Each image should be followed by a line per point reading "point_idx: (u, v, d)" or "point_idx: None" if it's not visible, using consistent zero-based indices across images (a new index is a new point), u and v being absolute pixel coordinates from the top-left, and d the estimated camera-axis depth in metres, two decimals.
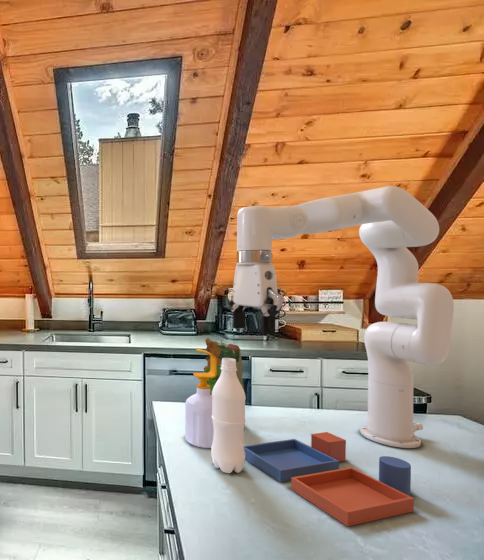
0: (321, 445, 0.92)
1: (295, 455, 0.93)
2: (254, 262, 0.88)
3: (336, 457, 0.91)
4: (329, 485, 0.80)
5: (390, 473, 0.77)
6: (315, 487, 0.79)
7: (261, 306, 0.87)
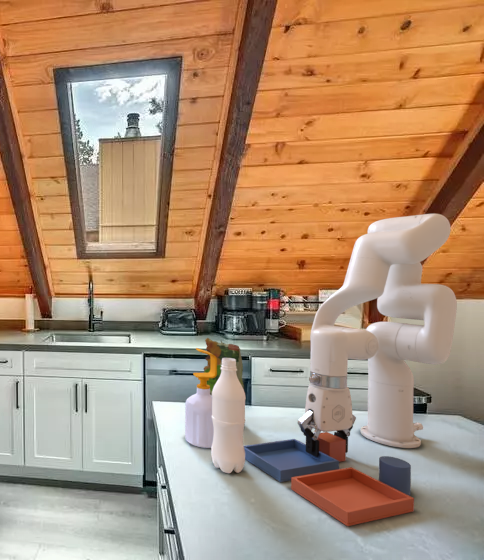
0: (321, 445, 0.92)
1: (295, 455, 0.93)
2: (310, 382, 0.94)
3: (336, 457, 0.91)
4: (329, 485, 0.80)
5: (390, 473, 0.77)
6: (315, 487, 0.79)
7: None
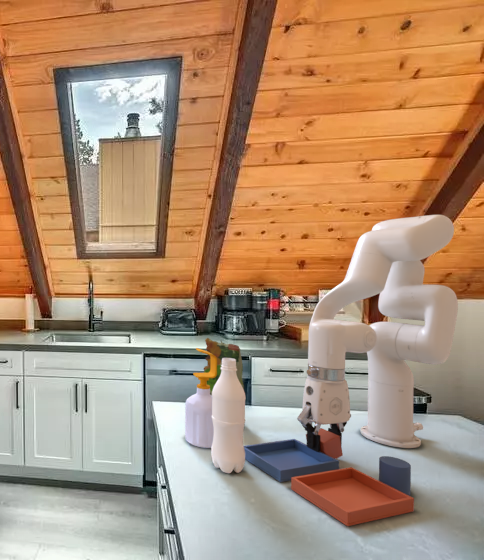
0: None
1: (295, 455, 0.93)
2: None
3: (333, 455, 0.91)
4: (329, 485, 0.80)
5: (390, 473, 0.77)
6: (315, 487, 0.79)
7: None
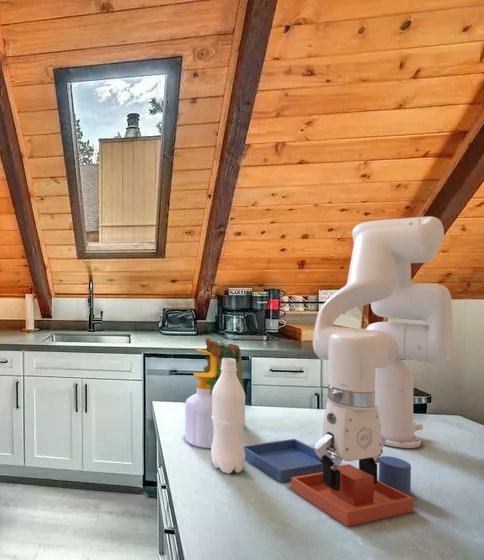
0: (343, 482, 0.75)
1: (295, 455, 0.93)
2: (328, 398, 0.77)
3: (362, 498, 0.73)
4: None
5: (390, 473, 0.77)
6: (315, 487, 0.79)
7: None
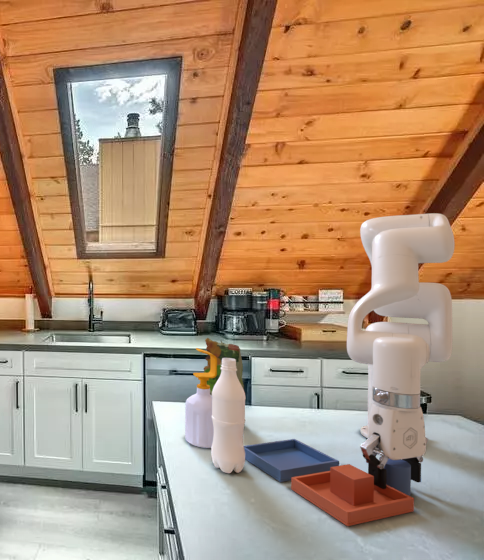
0: (343, 482, 0.75)
1: (295, 455, 0.93)
2: (373, 400, 0.80)
3: (362, 498, 0.73)
4: (329, 485, 0.80)
5: (390, 473, 0.77)
6: (315, 487, 0.79)
7: None
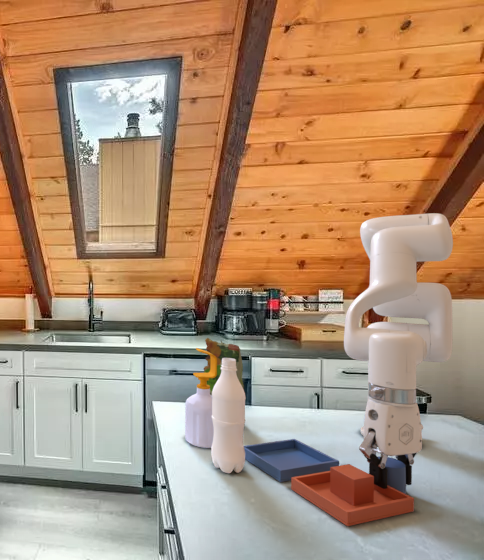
0: (343, 482, 0.75)
1: (295, 455, 0.93)
2: (368, 396, 0.80)
3: (362, 498, 0.73)
4: (329, 485, 0.80)
5: None
6: (315, 487, 0.79)
7: None
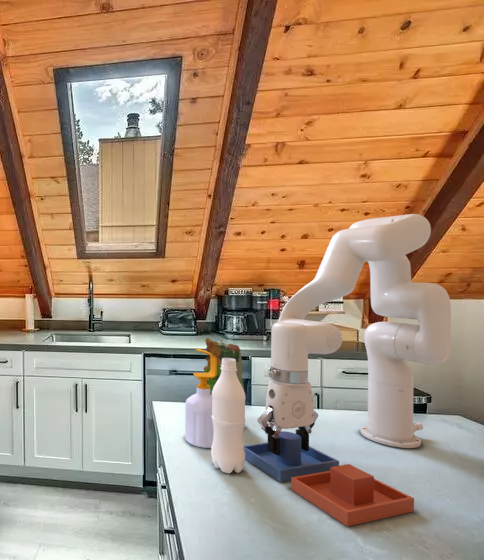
0: (343, 482, 0.75)
1: None
2: (271, 378, 0.91)
3: (362, 498, 0.73)
4: (329, 485, 0.80)
5: (284, 445, 0.89)
6: (315, 487, 0.79)
7: None
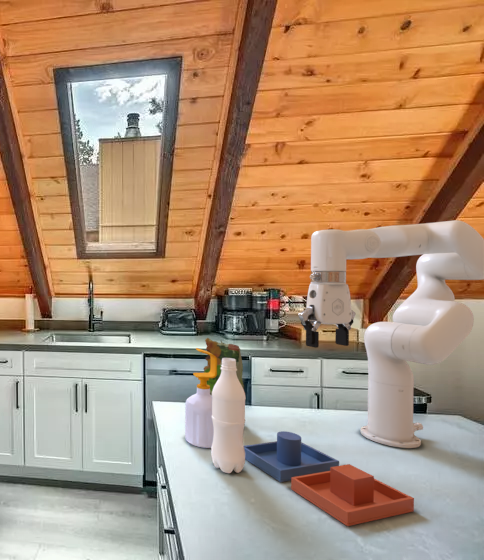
0: (343, 482, 0.75)
1: None
2: None
3: (362, 498, 0.73)
4: (329, 485, 0.80)
5: (284, 445, 0.89)
6: (315, 487, 0.79)
7: None
